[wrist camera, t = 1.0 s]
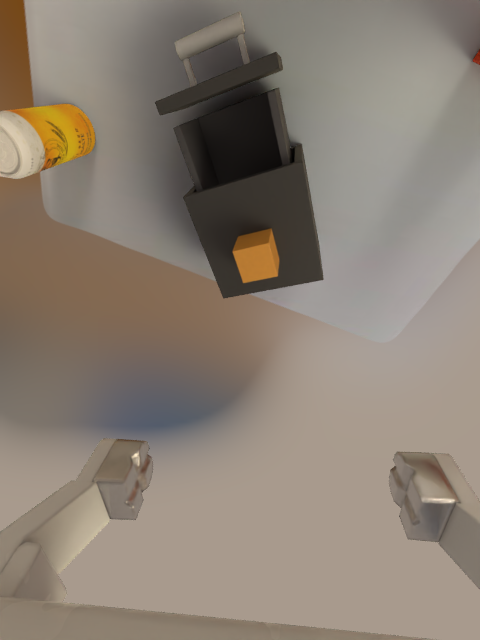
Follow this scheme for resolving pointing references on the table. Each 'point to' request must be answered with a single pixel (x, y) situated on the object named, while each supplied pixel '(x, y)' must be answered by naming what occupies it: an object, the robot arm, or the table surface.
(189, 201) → the dark grey open box
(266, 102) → the drawer
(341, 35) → the table surface
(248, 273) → the block
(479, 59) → the file binder
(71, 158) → the vitamin bottle
